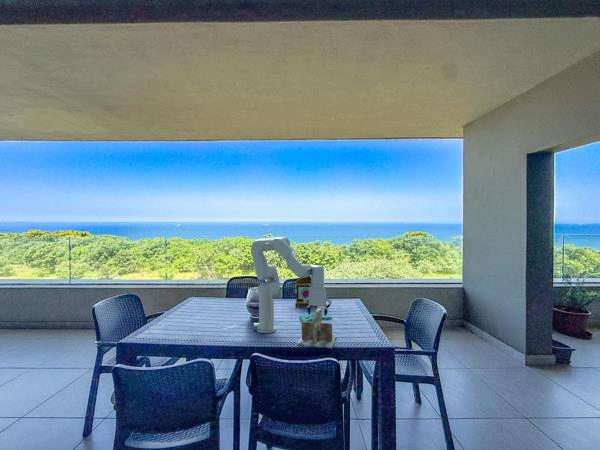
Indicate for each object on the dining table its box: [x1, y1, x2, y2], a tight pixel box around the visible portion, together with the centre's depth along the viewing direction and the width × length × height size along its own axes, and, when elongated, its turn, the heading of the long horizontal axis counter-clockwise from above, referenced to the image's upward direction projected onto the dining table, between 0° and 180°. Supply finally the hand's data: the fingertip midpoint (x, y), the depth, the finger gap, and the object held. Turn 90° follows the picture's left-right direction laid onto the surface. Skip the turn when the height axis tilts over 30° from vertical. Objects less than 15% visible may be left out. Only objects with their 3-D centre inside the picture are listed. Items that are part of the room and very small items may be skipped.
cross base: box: [296, 321, 337, 349], centre depth 192 cm, size 20×18×11 cm
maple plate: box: [313, 307, 323, 343], centre depth 193 cm, size 2×16×16 cm, turn 166°
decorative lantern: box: [293, 276, 317, 309], centre depth 277 cm, size 20×20×30 cm
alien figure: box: [298, 313, 333, 323], centre depth 235 cm, size 20×2×20 cm
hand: (317, 314), depth 194 cm, fingers open, 9 cm apart
